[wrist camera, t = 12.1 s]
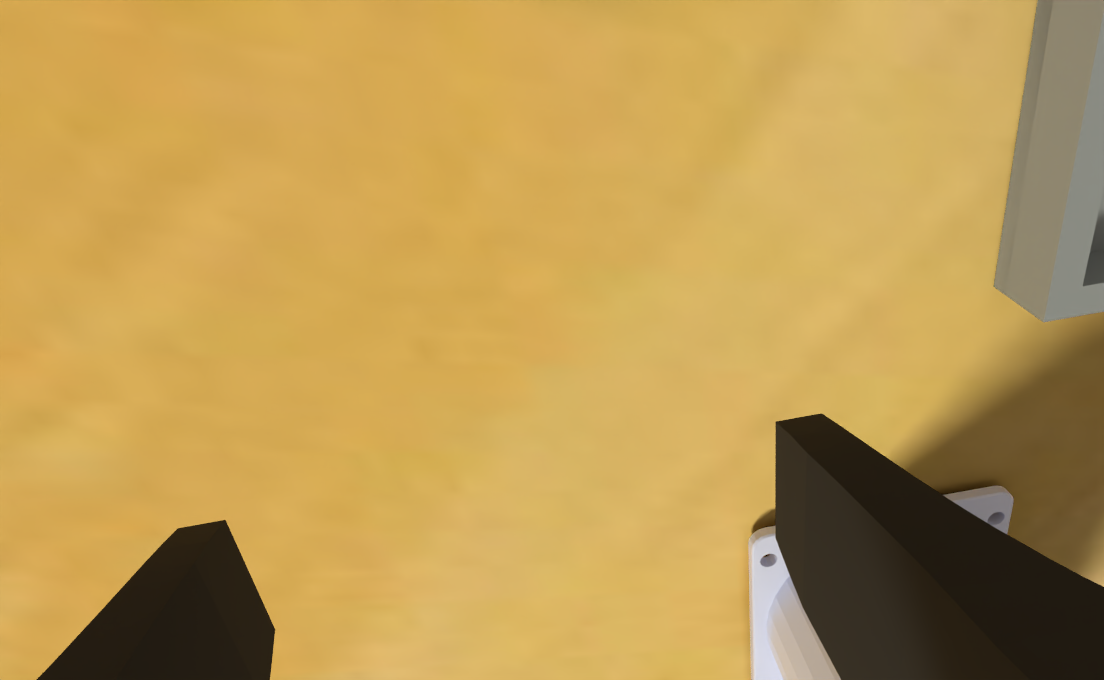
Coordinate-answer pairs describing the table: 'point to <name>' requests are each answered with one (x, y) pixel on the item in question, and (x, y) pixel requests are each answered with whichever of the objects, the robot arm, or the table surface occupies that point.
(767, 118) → the table surface
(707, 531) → the table surface
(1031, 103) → the tray
